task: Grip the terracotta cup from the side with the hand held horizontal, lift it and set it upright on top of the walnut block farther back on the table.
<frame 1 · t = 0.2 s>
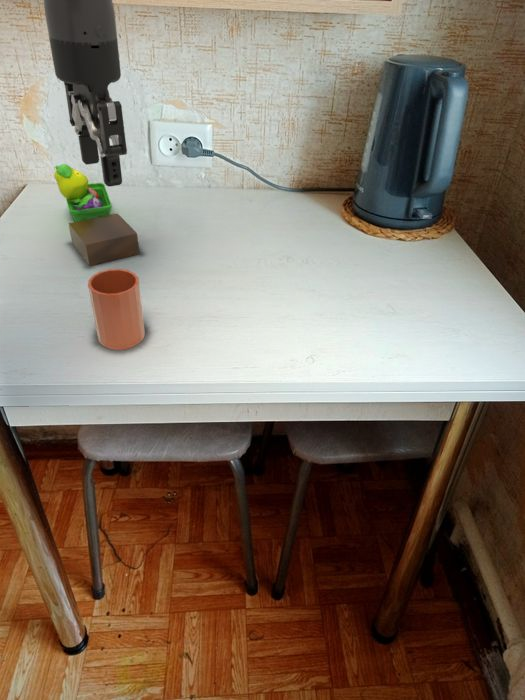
hand: (101, 173, 68), 19 cm above the table, tool pointing down, fingers open, 8 cm apart
fruit basket: (88, 222, 99), on the table
block: (105, 248, 91), on the table
cup: (121, 335, 72), on the table
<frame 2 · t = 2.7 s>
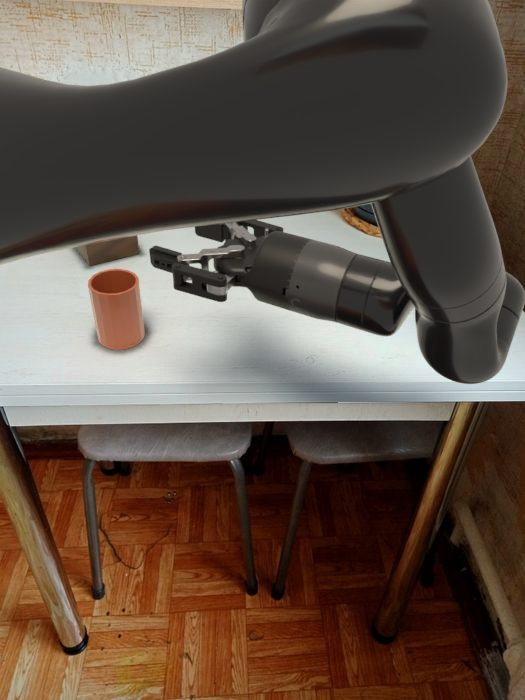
hand: (175, 239, 57), 18 cm above the table, tool horizontal, fingers open, 8 cm apart
nothing on the table moved.
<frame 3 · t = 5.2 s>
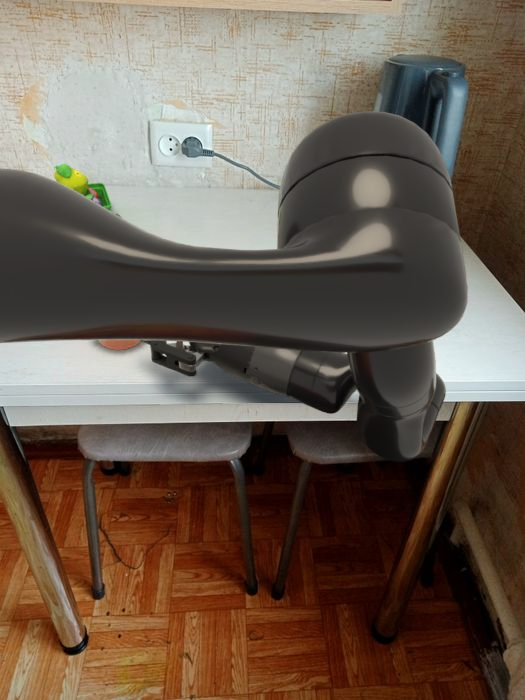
hand: (156, 310, 65), 7 cm above the table, tool horizontal, fingers open, 8 cm apart
nothing on the table moved.
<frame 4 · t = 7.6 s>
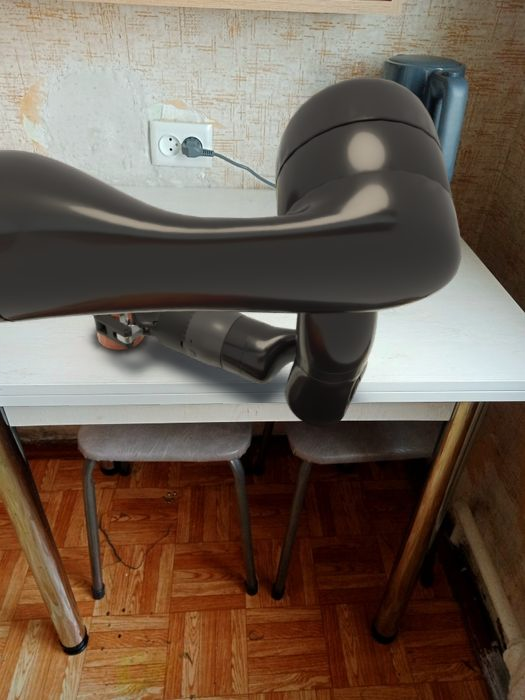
hand: (102, 288, 68), 7 cm above the table, tool horizontal, fingers closed on cup, 6 cm apart
cup: (121, 335, 72), on the table, touching gripper
everything else where it was.
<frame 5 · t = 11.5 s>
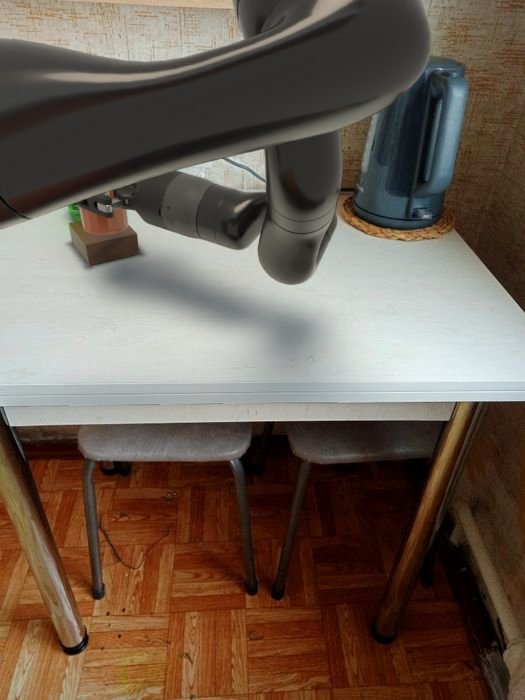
hand: (86, 174, 71), 18 cm above the table, tool horizontal, fingers closed on cup, 6 cm apart
cup: (105, 225, 74), point 11 cm above the table, touching gripper
everything else where it was.
when the fingers open (11 cm above the table, at t = 15.7 s): cup stays where it is, resting on block.
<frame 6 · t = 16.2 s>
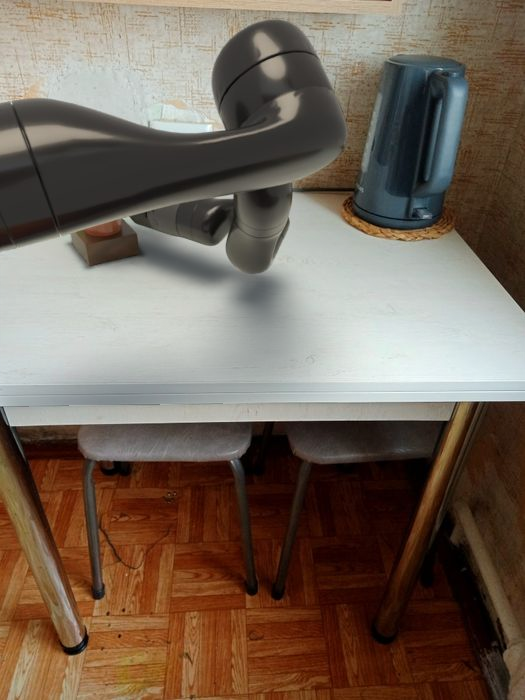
hand: (86, 183, 84), 12 cm above the table, tool horizontal, fingers open, 8 cm apart
block: (105, 248, 91), on the table, touching cup
cup: (103, 228, 88), point 4 cm above the table, touching block
everything else where it was.
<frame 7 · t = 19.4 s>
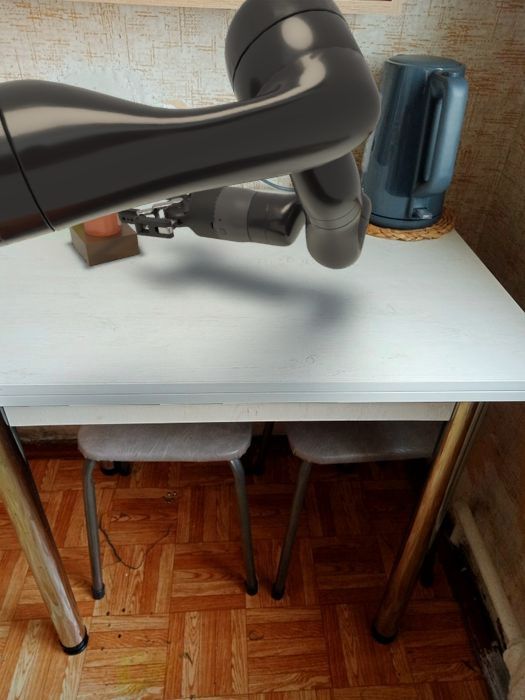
hand: (135, 202, 79), 12 cm above the table, tool horizontal, fingers open, 8 cm apart
nothing on the table moved.
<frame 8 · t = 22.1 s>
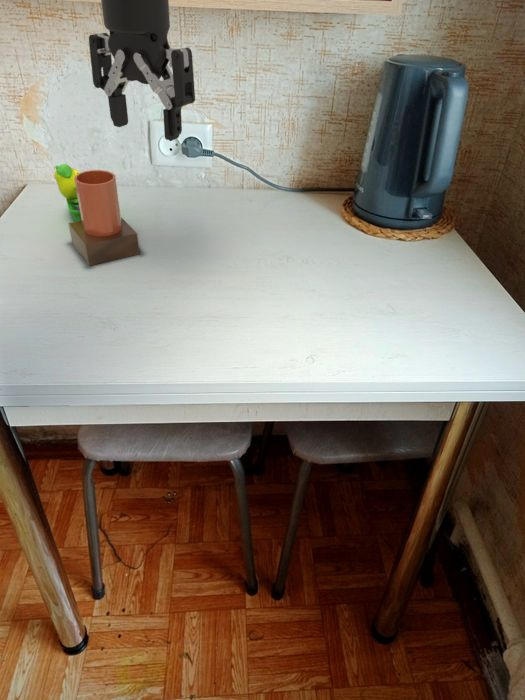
hand: (146, 132, 67), 24 cm above the table, tool pointing down, fingers open, 8 cm apart
nothing on the table moved.
at the end: cup 0.1 cm off-centre on the block, point 4.0 cm above the block's base; cup tilted 0°; cup touching block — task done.
